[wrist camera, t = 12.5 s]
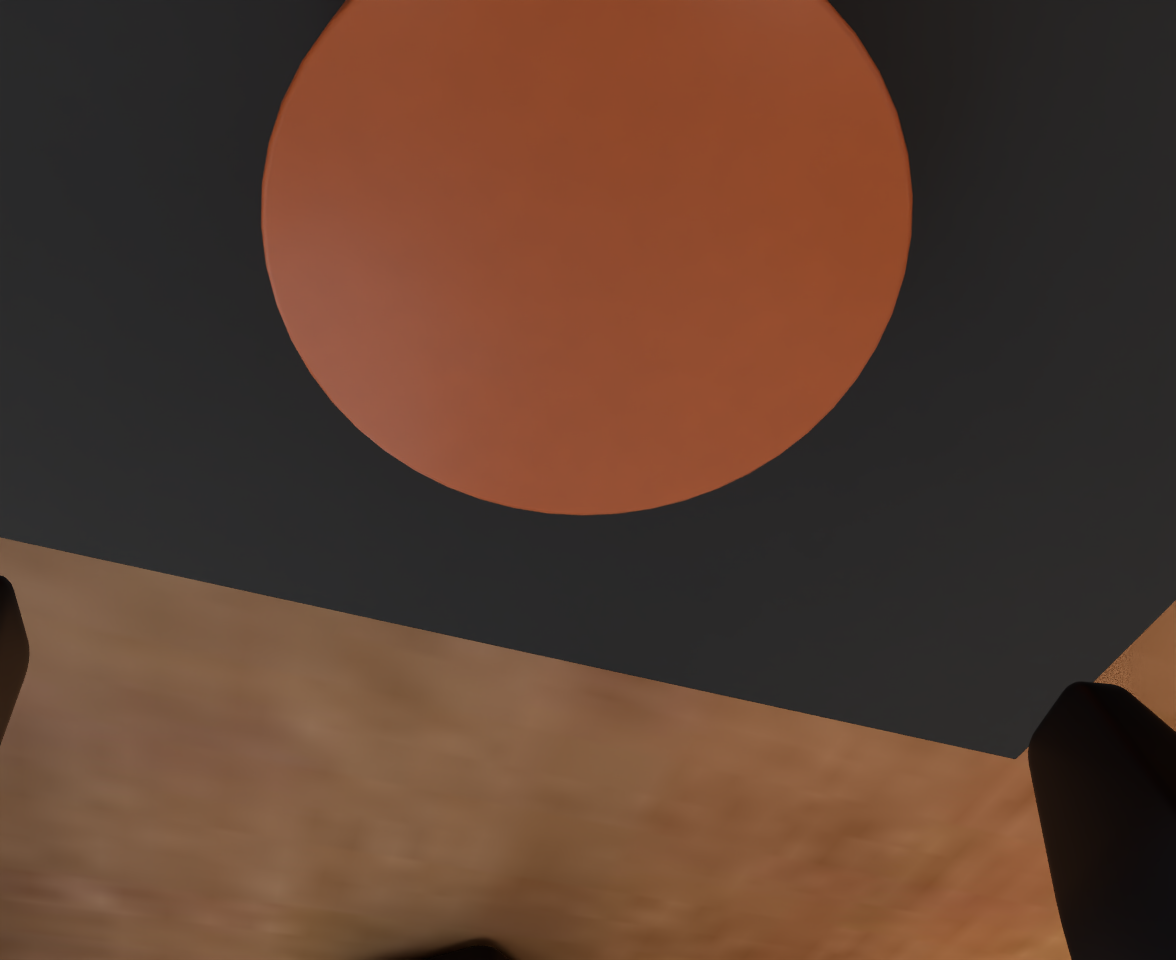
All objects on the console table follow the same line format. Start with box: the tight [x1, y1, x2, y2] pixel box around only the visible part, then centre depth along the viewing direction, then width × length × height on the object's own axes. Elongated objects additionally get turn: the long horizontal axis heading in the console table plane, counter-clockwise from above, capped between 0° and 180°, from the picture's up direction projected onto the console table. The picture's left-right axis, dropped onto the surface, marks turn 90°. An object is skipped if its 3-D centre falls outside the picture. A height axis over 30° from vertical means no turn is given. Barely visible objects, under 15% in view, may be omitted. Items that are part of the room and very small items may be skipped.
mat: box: [0, 0, 1176, 759], centre depth 14 cm, size 20×14×1 cm
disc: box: [261, 0, 913, 515], centre depth 12 cm, size 2×7×7 cm
